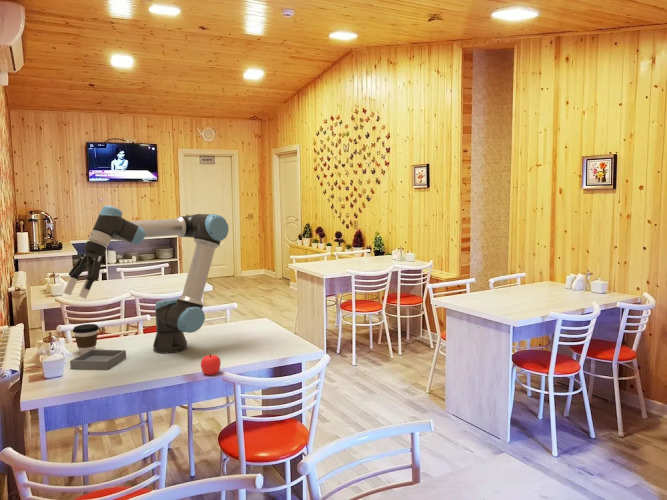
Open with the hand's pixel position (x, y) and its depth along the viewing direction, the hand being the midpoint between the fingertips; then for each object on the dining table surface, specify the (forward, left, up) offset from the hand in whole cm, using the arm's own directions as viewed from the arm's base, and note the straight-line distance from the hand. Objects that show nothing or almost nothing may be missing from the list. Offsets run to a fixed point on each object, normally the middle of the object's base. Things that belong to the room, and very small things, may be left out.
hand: (74, 295), depth 203 cm
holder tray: (-24, -5, -34) cm, 42 cm away
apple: (-15, +47, -34) cm, 60 cm away
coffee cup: (-39, -19, -34) cm, 55 cm away
